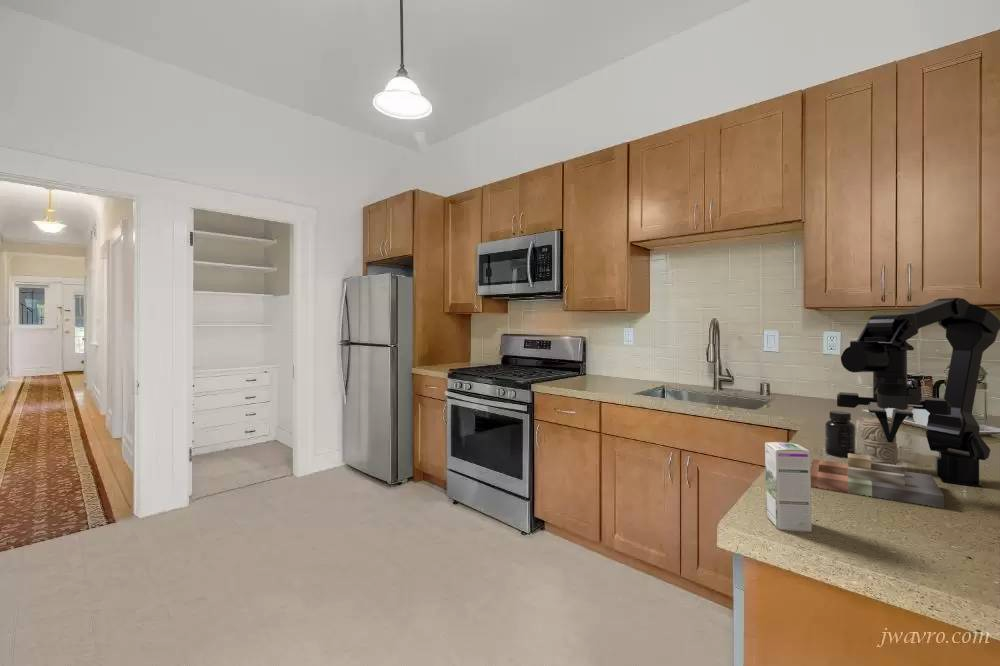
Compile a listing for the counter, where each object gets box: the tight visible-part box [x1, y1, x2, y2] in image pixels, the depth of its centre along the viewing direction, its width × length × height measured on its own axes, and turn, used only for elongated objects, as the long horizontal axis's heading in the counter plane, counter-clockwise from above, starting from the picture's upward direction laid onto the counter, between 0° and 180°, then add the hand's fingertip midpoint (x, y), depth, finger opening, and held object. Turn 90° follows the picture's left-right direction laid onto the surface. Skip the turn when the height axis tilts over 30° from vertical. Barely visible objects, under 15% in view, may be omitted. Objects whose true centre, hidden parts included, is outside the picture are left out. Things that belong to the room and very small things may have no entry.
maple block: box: [847, 453, 871, 470], centre depth 103 cm, size 4×4×4 cm
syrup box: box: [764, 441, 813, 533], centre depth 83 cm, size 6×6×14 cm
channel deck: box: [810, 458, 945, 510], centre depth 102 cm, size 22×16×4 cm
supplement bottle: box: [824, 410, 856, 459], centre depth 128 cm, size 7×7×12 cm
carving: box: [859, 417, 899, 465], centre depth 117 cm, size 6×8×12 cm
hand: (889, 441), depth 100 cm, fingers closed
